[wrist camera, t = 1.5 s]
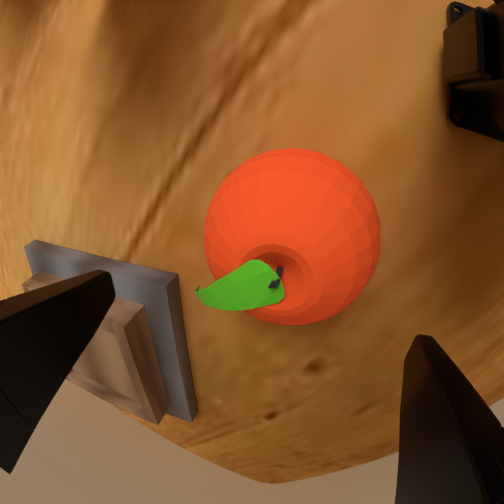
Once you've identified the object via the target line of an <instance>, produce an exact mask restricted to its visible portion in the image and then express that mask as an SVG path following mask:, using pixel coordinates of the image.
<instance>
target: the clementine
mask: <svg viewBox="0 0 504 504" xmlns="http://www.w3.org/2000/svg"><path fill="white" fill-rule="evenodd" d="M205 253H206V256H207V260H208V264H209V268H210V270H211V272H212V274H213V275H214V277H215V279H216V281H215V282H214V283H212V284H211V285H210V286H208V287H206V288H204V289H202V290H200V291H199V286H198V287H197V288H196V290H195V291H194V292H195V293H196V295H197V296H198V297H199V299H200V300H201V301H202V302H203V303H204V305H207V306H210V307H212V308H216V309H220V310H230V311H240V310H244V311H245V312H246V313H248V314H250V315H252V316H254V317H256V318H258V319H260V320H263V321H266V322H270V323H274V324H278V325H304V324H309V323H314V322H319V321H323V320H325V319H327V318H329V317H331V316H334V315H336V314H338V313H340V312H341V311H342V310H344V309H345V308H346V307H347V306H348V305H349V304H351V303H352V302H353V301H354V300H355V299H356V298H357V297H358V296H359V295H360V293H361V292H362V291H363V289H364V288H365V286H366V285H367V283H368V282H369V280H370V279H371V277H372V276H373V273H374V270H375V267H376V264H377V260H378V257H379V253H380V220H379V217H378V214H377V210H376V207H375V204H374V201H373V199H372V197H371V196H370V194H369V193H368V191H367V190H366V188H365V187H364V185H363V184H362V182H361V181H360V179H359V178H357V177H356V176H355V175H354V174H353V173H352V172H351V171H349V170H348V169H347V168H346V167H345V166H344V165H342V164H341V163H340V162H338V161H336V160H334V159H332V158H330V157H328V156H326V155H323V154H321V153H319V152H314V151H308V150H302V149H295V148H291V149H282V150H274V151H268V152H265V153H263V154H260V155H258V156H256V157H253V158H251V159H249V160H247V161H245V162H244V163H243V164H242V165H240V166H239V167H238V168H237V169H236V170H234V171H233V172H232V173H231V174H230V175H229V176H228V177H227V178H226V179H225V181H224V182H223V183H222V185H221V186H220V188H219V189H218V191H217V192H216V194H215V195H214V197H213V198H212V200H211V204H210V207H209V210H208V213H207V217H206V222H205Z"/></svg>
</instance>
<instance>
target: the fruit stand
mask: <svg viewBox="0 0 504 504" xmlns="http://www.w3.org/2000/svg"><path fill="white" fill-rule="evenodd" d="M24 248H25V251H26V255H27V258H28V261H29V265H30V268H31V271H32V274H33V276H32V277H31V278H29V279H28V280H27V281H25V282H24V283H23V284H22V286H23V289H24V292H28V291H31V290H34V289H37V288H40V287H43V286H47V285H50V284H53V283H56V282H59V281H62V280H65V279H69V278H72V277H75V276H78V275H81V274H85V273H88V272H91V271H94V270H98V269H101V270H105V271H108V272H110V274H111V276H112V280H113V284H114V288H115V292H116V297H115V300H114V302H113V304H112V306H111V307H110V309H109V311H108V312H107V314H106V316H105V318H104V319H103V321H102V323H101V325H100V326H99V328H98V330H97V332H96V333H95V335H94V337H93V338H92V340H91V341H90V343H89V344H88V345H87V347H86V348H85V350H84V351H83V353H82V354H81V356H80V357H79V359H78V360H77V362H76V363H75V365H74V366H73V368H72V369H71V371H70V372H69V374H68V375H67V377H66V379H67V380H69V381H71V382H72V383H74V384H76V385H78V386H79V387H81V388H83V389H85V390H86V391H88V392H90V393H92V394H94V395H96V396H97V397H99V398H101V399H103V400H105V401H107V402H109V403H111V404H113V405H115V406H117V407H119V408H121V409H123V410H125V411H127V412H129V413H132V414H134V415H136V416H138V417H140V418H143V419H145V420H147V421H150V422H152V423H154V424H157V425H159V423H160V421H161V420H162V418H163V416H164V415H165V413H167V414H170V415H172V416H175V417H178V418H180V419H183V420H186V421H189V422H193V420H194V418H195V416H196V414H197V412H198V409H197V404H196V398H195V393H194V387H193V382H192V376H191V370H190V364H189V357H188V351H187V344H186V338H185V330H184V323H183V316H182V308H181V300H180V291H179V282H178V274H175V273H170V272H166V271H161V270H157V269H152V268H148V267H143V266H139V265H135V264H130V263H126V262H122V261H118V260H113V259H109V258H105V257H101V256H97V255H93V254H89V253H85V252H81V251H77V250H73V249H69V248H65V247H61V246H57V245H53V244H49V243H46V242H42V241H38V240H34V241H33V242H31V243H29V244H28V245H26V246H25V247H24Z"/></svg>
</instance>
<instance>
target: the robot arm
mask: <svg viewBox="0 0 504 504" xmlns="http://www.w3.org/2000/svg"><path fill="white" fill-rule="evenodd" d="M493 1H494V2H495V3H494V4H492V5H491V6H489V7H488V8H486V9H485V8H482V7H480V6H477V7H476V8H473V7H470V6H467V5H465V4H462V3H459V2H455V1H454V2H451V3H450V4H449V5H448V6H447V16H448V28H446V29H445V30H444V31H443V39H444V69H443V78H444V79H445V81H446V82H447V83H448V97H447V110H446V116H447V119H448V121H449V122H450V124H452V125H454V126H456V127H460V128H463V129H466V130H469V131H473V132H476V133H479V134H482V135H485V136H487V137H490V138H493V139H496V140H499V141H501V142H504V0H493ZM454 8H456V9H458V10H459V11H460V13H461V15H459V14H457V13H456V12H455V10H454ZM455 111H457V112H459V114H460V119H459V120H458V121H456V120H455V118H454V112H455ZM115 297H116V292H115V288H114V284H113V280H112V276H111V274H110V272H108V271H105V270H101V269H98V270H94V271H91V272H88V273H85V274H81V275H78V276H75V277H72V278H69V279H65V280H62V281H59V282H56V283H53V284H50V285H47V286H43V287H40V288H37V289H34V290H31V291H28V292H25V293H22V294H19V295H16V296H13V297H10V298H7V299H6V300H5V299H4V300H1V301H0V467H1V468H2V469H3V470H5V471H6V472H7V473H9V474H10V473H11V472H12V471H13V469H14V467H15V465H16V463H17V461H18V459H19V457H20V455H21V453H22V452H23V450H24V448H25V446H26V444H27V442H28V440H29V439H30V437H31V435H32V433H33V432H34V429H35V428H36V426H37V424H38V422H39V421H40V419H41V417H42V416H43V414H44V412H45V411H46V409H47V407H48V406H49V404H50V402H51V401H52V399H53V398H54V396H55V394H56V393H57V391H58V390H59V388H60V386H61V385H62V383H63V382H64V380H65V379H66V377H67V375H68V374H69V372H70V371H71V369H72V368H73V366H74V365H75V363H76V362H77V360H78V359H79V357H80V356H81V354H82V353H83V351H84V350H85V348H86V347H87V345H88V344H89V343H90V341H91V340H92V338H93V337H94V335H95V333H96V332H97V330H98V328H99V326H100V325H101V323H102V321H103V319H104V318H105V316H106V314H107V312H108V311H109V309H110V307H111V306H112V304H113V302H114V300H115ZM395 504H504V428H503V427H501V423H500V422H499V420H498V419H497V418H496V416H495V415H494V414H493V412H492V411H491V410H490V408H489V407H488V405H487V404H486V403H485V401H484V400H483V399H482V397H481V396H480V395H479V394H478V392H477V391H476V390H475V388H474V387H473V386H472V385H471V383H470V382H469V381H468V379H467V378H466V377H465V376H464V374H463V373H462V372H461V371H460V369H459V368H458V367H457V366H456V365H455V363H454V362H453V361H452V360H451V358H450V357H449V356H448V355H447V354H446V352H445V351H444V350H443V349H442V348H441V347H440V345H439V344H438V343H437V342H436V341H435V339H434V338H433V337H432V336H429V335H421V334H419V335H417V336H416V337H415V339H414V341H413V343H412V345H411V347H410V349H409V351H408V353H407V355H406V358H405V361H404V372H403V386H402V397H401V407H400V436H399V462H398V476H397V488H396V498H395Z"/></svg>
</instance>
